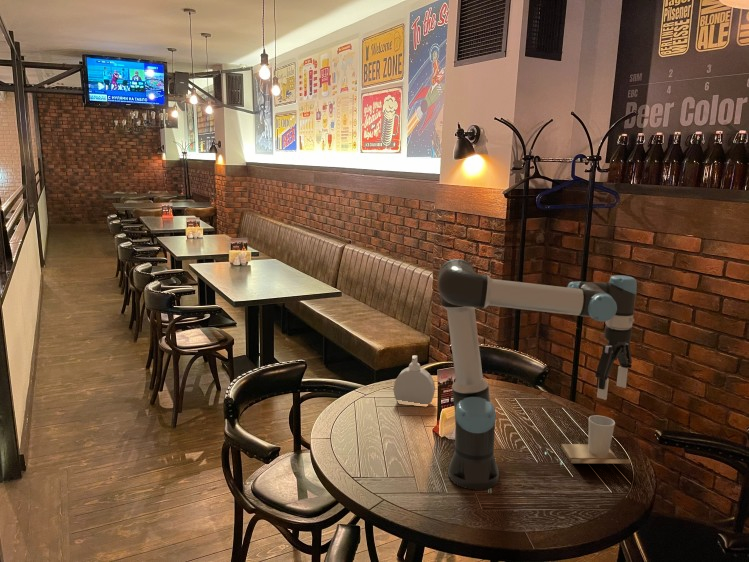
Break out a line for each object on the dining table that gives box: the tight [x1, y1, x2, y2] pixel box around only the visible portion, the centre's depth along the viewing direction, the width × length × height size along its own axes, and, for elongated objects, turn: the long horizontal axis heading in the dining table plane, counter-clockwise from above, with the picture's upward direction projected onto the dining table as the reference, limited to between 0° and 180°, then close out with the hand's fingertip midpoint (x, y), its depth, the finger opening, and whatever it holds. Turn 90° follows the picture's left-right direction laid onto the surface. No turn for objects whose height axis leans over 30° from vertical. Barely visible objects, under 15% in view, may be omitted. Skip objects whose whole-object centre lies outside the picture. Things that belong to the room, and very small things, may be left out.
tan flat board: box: [561, 443, 618, 463], centre depth 183 cm, size 15×9×1 cm, turn 89°
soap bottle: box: [392, 354, 436, 406], centre depth 220 cm, size 16×5×20 cm, turn 75°
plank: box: [570, 458, 631, 465], centre depth 174 cm, size 15×9×1 cm, turn 89°
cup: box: [587, 414, 616, 457], centre depth 182 cm, size 8×8×12 cm
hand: (611, 392), depth 174 cm, fingers open, 13 cm apart
